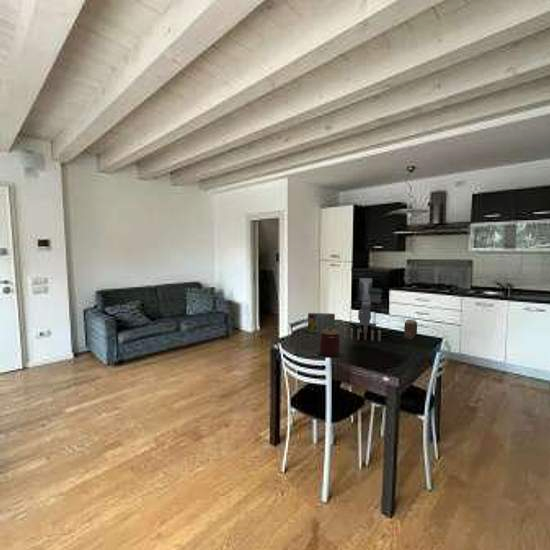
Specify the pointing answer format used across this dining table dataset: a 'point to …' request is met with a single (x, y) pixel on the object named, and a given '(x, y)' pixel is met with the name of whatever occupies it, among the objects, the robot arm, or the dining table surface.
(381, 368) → the dining table surface
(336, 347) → the canister
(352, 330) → the domino
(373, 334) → the domino
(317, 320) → the snack box
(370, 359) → the dining table surface
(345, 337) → the domino
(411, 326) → the stack of blocks
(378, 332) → the domino
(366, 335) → the terracotta domino
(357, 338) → the domino
